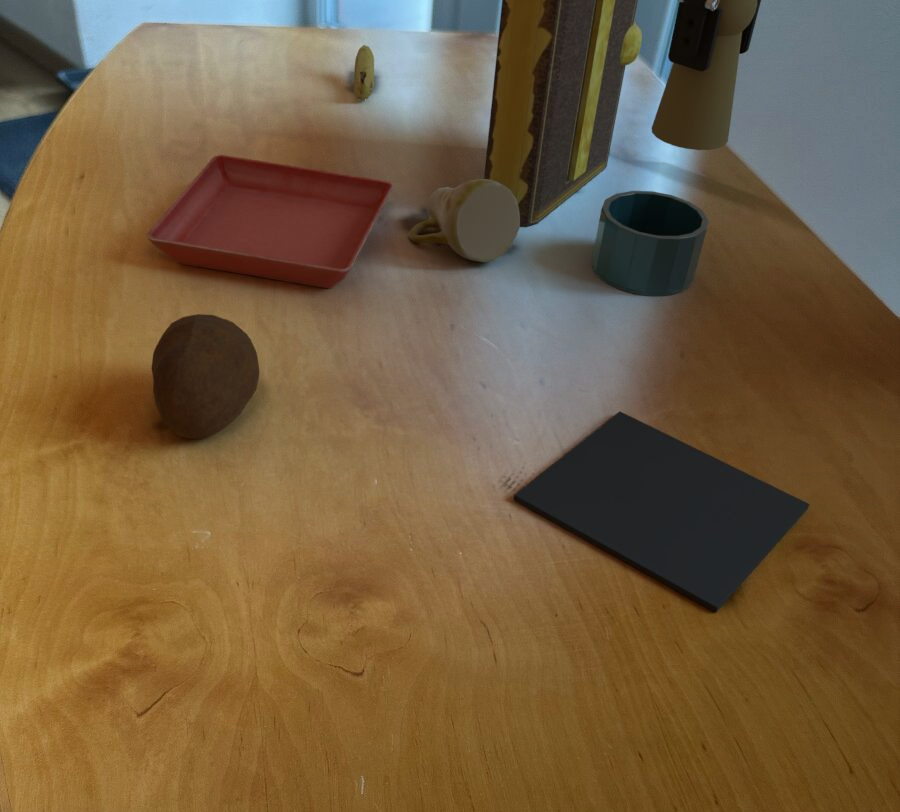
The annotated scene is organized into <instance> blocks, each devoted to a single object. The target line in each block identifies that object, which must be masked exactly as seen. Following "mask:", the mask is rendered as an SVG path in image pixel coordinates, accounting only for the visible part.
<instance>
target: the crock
mask: <svg viewBox="0 0 900 812" xmlns="http://www.w3.org/2000/svg"><path fill="white" fill-rule="evenodd" d="M709 221H710V220H709V218H708V217H707V215H706V213H705V212H704V210H702V209H701V208H700V207H698V206H696V205H695V204H694V203H692V202H691V201H689V200H686V199H683V198H681V197H678V196H676V195H673V194H667V193H663V192H657V191H653V190H630V191H629V190H628V191H623V192H618V193H614V194H613V195H610V196H609V197H607V198H606V199H605V200H604V201H603V204H602V207H601V209H600V215H599V221H598V226H597V231H596V232H597V233H596V236H595V242H594V246H593V252H592V258H591V266H592V270H593V271H594V274H596V276H597V277H598V278H600V279H601V280H602V281H603V282H604V283H606V284H608V285H610V286H612V287H614V288H616V289H618V290H621V291H623V292H626V293H631V294H635V295H639V296H647V297H649V296H650V297H664V296H671V295H676V294H679V293H681V292H684V291H685V290H687V289H688V288H690V287H691V285H692V284H693V282H694V279H695V276H696V275H695V274H696V271H697V269H698V268H697V267H698V263H699V260H700V256H701V252H702V249H703V244H704V241H705V238H706V234H707V230H708V226H709V223H710V222H709Z"/></svg>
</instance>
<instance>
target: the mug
mask: <svg viewBox="0 0 900 812" xmlns="http://www.w3.org/2000/svg"><path fill="white" fill-rule="evenodd" d="M426 215H427V219H426V220H424V221H421V222H419V223H416V224H415V225H413V226H412V228H411V229H410V230H409V232H408V236H407V237H409V238H408V239H409V240H410V241H412V242H413V243H415V244H419V245H427V244H444V245H448V246H450V248H451V249H452V250H453V251H454V253H456V254H458V255H459V256H461V257H462V258H464V259H466V260H469V261H473V262H479V263H480V262H481V263H491V262H493V261H495V260H497V259H499V258H500V257H502V256H504V254H506V253H507V251H509V249H510V248H511V246H512V245H513V243H514V242H515V240H516V237H517V236H518V233H519V230H520V227H521V226H520V213H519V207H518V204H517V201H516V198H515V197H514V195H513V194H512V192H511V191H510V190H509V189H508V188H507V187H505V186H504V185H502V184H500V183H498V182H496V181H493V180H489V179H484V178H476V179H471V180H468V181H465V182H463V183H461V184H459V185H458V186H457V185H456V186H455V187H449V186H444V187H440V188H437V189H436V190H435V191H433V192H432V194H430V197H429V198H428V200H427V203H426ZM429 228H432V229H433V228H434V229H437V230H440V231H439V232H434V233H427V234H420V233H421V232H423V231H424V230H426V229H429Z"/></svg>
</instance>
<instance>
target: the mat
mask: <svg viewBox="0 0 900 812" xmlns="http://www.w3.org/2000/svg"><path fill="white" fill-rule="evenodd" d="M513 501H514V502H516V503H517V504H519V505H522V507H525V508H527V509H528V510H530V511H532V512H534V513H536V514H538V515H539V516H541V517H543V518H545V519H547V520H548V521H550V522H552V523H553V524H556V525H557V526H559V527H561V528H563V529H564V530H566V531H567V532H570V533H572V534H573V535H575V536H577V537H579V538H580V539H582V540H584V541H586V542H587V543H590V544H591V545H593V546H594V547H596V548H599V549H600V550H602V551H603V552H606V553H607V554H609V555H611V556H612V557H614V558H617V560H620V561H622V562H624V563H625V564H627V565H629V566H630V567H633V568H635V569H636V570H638V571H639V572H641V573H643V574H645V575H647V576H649V577H650V578H652V579H654V580H655V581H657V582H660V583H661V584H663V585H665V586H667V587H669V588H670V589H672V590H674V591H676V592H677V593H679V594H681V595H683V596H685V597H687V598H688V599H689V600H691V601H693V602H695V603H697V604H698V605H701V606H702V607H704V608H705V609H708V610H710V611H711V612H713V613H717V612H718V611H720V609H721V608H722V607H723V606H724V604H725V603H726V602H727V601H728V600H729V599H730V597H732V596H733V594H734V593H735V592H736V591H737V589H738V588H739V587H741V585H742V584H743V583H744V582H745V581H746V579H747V578H749V576H750V575H751V574H752V573H753V572H754V570H755V569H756V568H757V567H758V566H759V565H760V564H761V563H762V561H764V559H765V558H766V557H767V556H768V555H769V554H770V552H771V551H772V550H773V549H774V548H775V547H776V546H777V545H778V543H779V542H780V541H781V540H782V539H783V537H784V536H786V534H787V533H788V532H789V531H790V530H791V529H792V528H793V526H794V525H795V524H796V523H797V522H798V521H799V520H800V518H801V517H802V516H804V514H805V513H806V511H808V510H809V507H810V503H808V502H806V501H804V500H802V499H800V498H798V497H796V496H794V495H792V494H790V493H788V492H786V491H784V490H782V489H780V488H778V487H775V486H773V485H771V484H769V483H768V482H765V481H764V480H761V479H759V478H757V477H755V476H753V475H751V474H749V473H747V472H746V471H743V470H741V469H739V468H737V467H735V466H733V465H731V464H729V463H727V462H725V461H723V460H721V459H719V458H717V457H714V456H712V455H710V454H708V453H706V452H705V451H702V450H700V449H699V448H696V447H693V446H692V445H690V444H688V443H686V442H683V441H682V440H680V439H678V438H676V437H674V436H671V435H669V434H668V433H665V432H664V431H662V430H660V429H658V428H655V427H653V426H652V425H649V424H647V423H645V422H643V421H641V420H639V419H637V418H634V417H632V416H631V415H629V414H627V413H624V412H622V411H618V412H617V413H616V414H614V415H613V416H612V417H611V418H609V419H608V420H607V421H605V422H604V423H602V424H601V426H599V427H598V428H596V429H595V430H594V431H593V432H592V433H590V434H589V435H587V437H585V438H584V439H583V440H581V441H580V442H579V443H578V444H577V445H575V446H574V447H573V448H571V449H570V450H569V451H568V452H566V453H565V454H564V455H562V456H561V457H560V458H558V459H557V460H556V461H555V462H554V463H552V464H550V466H548V468H546V469H545V470H544V471H542V472H541V473H540V474H538V476H536V477H535V478H534V479H532V480H531V481H530V482H529V483H527V484H526V485H525V486H523V487H522V488H521V489H520V490H518V491H517V492H516V493H515V494H514V495H513Z"/></svg>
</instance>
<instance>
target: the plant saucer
mask: <svg viewBox="0 0 900 812" xmlns="http://www.w3.org/2000/svg"><path fill="white" fill-rule="evenodd" d="M394 189H395V184H394V183H392V182H391V181H387V180H380V179H375V178H368V177H364V176H355V175H351V174H344V173H338V172H332V171H326V170H320V169H315V168H314V169H313V168H307V167H301V166H296V165H291V164H290V165H289V164H282V163H276V162H269V161H264V160H258V159H252V158H245V157H240V156H239V157H238V156H231V155H224V154H220V155H219V154H218V155H215V156H213V157H212V158H211V159H209V161H208V162H207V163H206V165H205V166H204V167H203V168H202V169H201V171H199V173H198V174H197V175H196V176H195V178H194V179H193V180H192V181H191V182H190V183H189V185H187V187H186V188H185V189H184V190H183V191H182V192H181V194H180V195H179V196H178V197H177V198H176V199H175V201H174V202H173V203H172V204H170V207H169V208H168V209H167V210H166V211H165V212H164V214H163V215H162V216H161V217H160V218H159V219H158V221H156V223H155V224H154V225H153V226H152V227H151V228H150V229H149V231H148V232H147V234H146V237H147V240H148V241H150V242H151V243H152V244H153V245H154V246H155V247H156V248H158V250H160V251H161V252H163V253H164V254H166V255H167V256H168V257H169V258H171V259H173V260H174V261H176V262H177V263H180V264H182V265H186V266H191V267H192V266H193V267H198V268H204V269H205V268H206V269H211V270H217V271H224V272H230V273H235V274H242V275H248V276H255V277H260V278H264V279H265V278H266V279H272V280H276V281H282V282H289V283H294V284H300V285H307V286H312V287H319V288H325V289H331V288H334V287H336V286H337V285H338V284H339V283H341V282H342V281H343V280H344V279H345V278H346V277H347V275H348V274H349V272H350V271H351V269H352V267H353V265H354V263H355V262H356V260H357V258H358V256H359V254H360V253H361V252H360V251H361V250H362V248H363V246H364V244H365V242H366V241H367V239H368V237H369V235H370V233H371V231H372V229H373V227H374V225H375V223H376V222H377V219H378V218H379V216H380V214H381V213H382V210H383V208H384V206H385V205H386V203H387V201H388V199H389V197H390V195H391V194H392V192H393V190H394Z"/></svg>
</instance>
